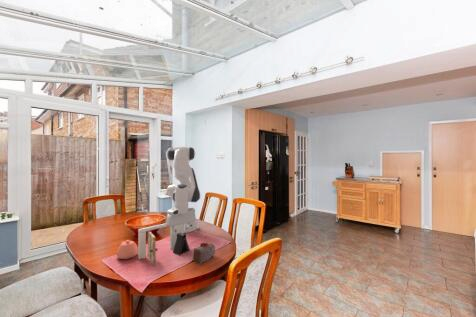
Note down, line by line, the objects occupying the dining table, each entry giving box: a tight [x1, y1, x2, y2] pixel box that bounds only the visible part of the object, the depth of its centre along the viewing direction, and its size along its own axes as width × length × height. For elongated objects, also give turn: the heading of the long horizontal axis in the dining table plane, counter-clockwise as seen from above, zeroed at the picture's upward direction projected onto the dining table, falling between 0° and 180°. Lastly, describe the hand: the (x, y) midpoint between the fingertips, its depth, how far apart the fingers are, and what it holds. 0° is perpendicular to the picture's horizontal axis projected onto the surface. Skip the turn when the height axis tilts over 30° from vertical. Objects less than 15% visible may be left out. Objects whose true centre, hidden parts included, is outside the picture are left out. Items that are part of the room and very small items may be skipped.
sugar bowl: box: [116, 239, 138, 261], centre depth 138 cm, size 12×14×10 cm
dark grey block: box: [192, 241, 216, 265], centre depth 135 cm, size 14×8×10 cm, turn 149°
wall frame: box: [137, 222, 185, 260], centre depth 145 cm, size 30×2×18 cm, turn 134°
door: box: [147, 230, 158, 266], centre depth 133 cm, size 14×4×16 cm, turn 34°
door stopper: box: [172, 233, 190, 256], centre depth 145 cm, size 9×6×12 cm, turn 144°
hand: (181, 230), depth 145 cm, fingers open, 8 cm apart
